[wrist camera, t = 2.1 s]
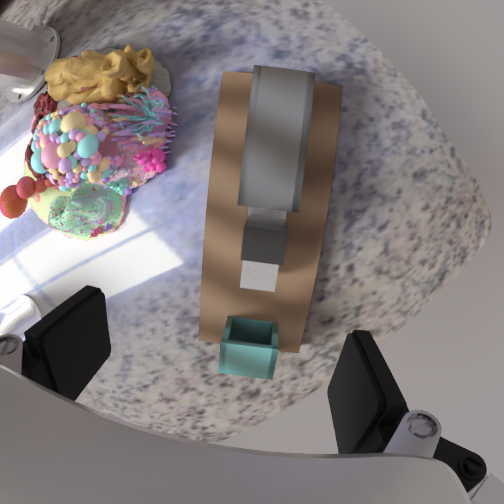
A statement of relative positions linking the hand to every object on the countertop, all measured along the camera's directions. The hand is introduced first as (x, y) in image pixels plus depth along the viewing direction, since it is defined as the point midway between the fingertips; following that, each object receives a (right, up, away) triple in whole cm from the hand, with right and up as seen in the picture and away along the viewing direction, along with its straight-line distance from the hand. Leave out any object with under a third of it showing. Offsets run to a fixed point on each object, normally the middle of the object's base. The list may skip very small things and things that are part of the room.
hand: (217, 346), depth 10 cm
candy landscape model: (-19, +17, +19) cm, 31 cm away
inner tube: (+3, +10, +16) cm, 19 cm away
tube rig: (+3, +7, +20) cm, 21 cm away
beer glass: (-36, -7, +26) cm, 45 cm away
